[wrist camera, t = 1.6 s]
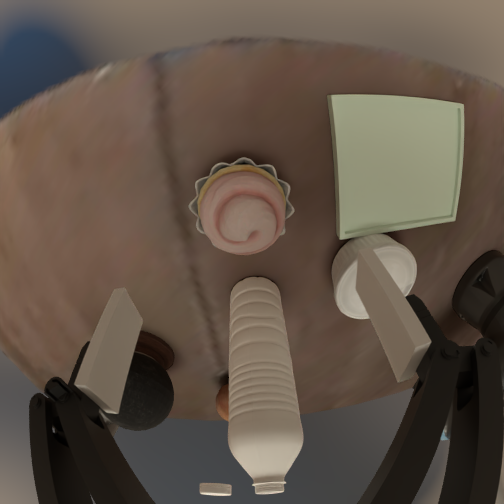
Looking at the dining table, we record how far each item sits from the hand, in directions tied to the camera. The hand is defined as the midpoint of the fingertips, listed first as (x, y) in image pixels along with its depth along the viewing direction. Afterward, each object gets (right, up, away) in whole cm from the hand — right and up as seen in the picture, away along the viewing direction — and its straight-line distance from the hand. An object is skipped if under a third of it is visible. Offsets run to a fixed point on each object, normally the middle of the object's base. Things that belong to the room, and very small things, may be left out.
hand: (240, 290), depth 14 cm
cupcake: (0, +9, +14) cm, 16 cm away
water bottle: (0, -3, +21) cm, 22 cm away
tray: (+18, +12, +12) cm, 25 cm away
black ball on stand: (-18, -15, +28) cm, 36 cm away
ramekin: (+15, +1, +19) cm, 25 cm away
